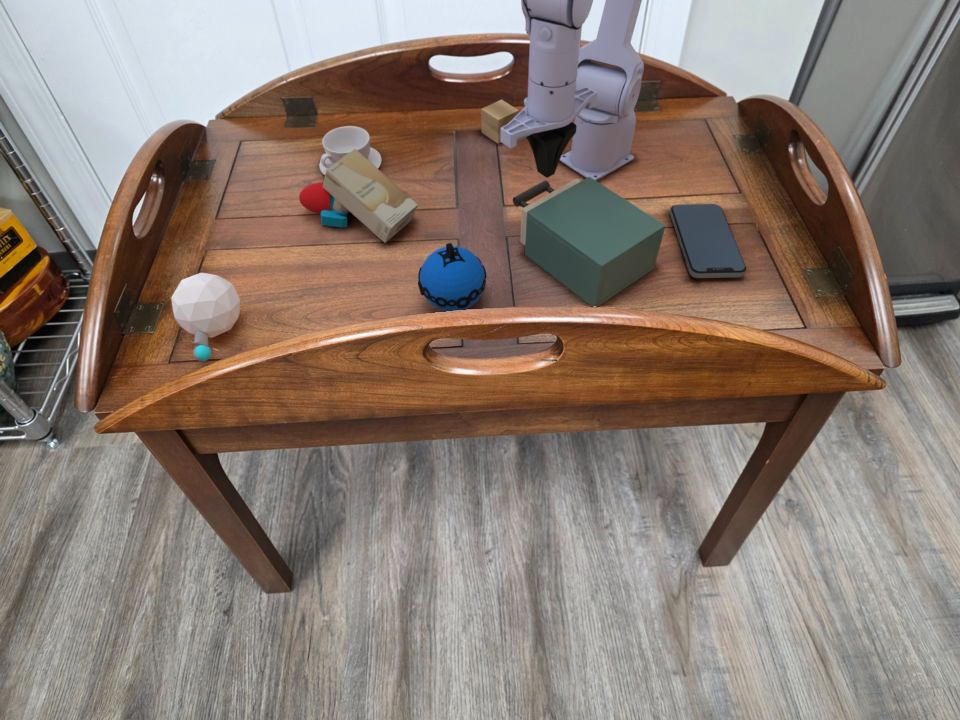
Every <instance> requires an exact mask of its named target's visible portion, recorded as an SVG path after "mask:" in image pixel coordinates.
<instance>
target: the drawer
mask: <svg viewBox="0 0 960 720" xmlns="http://www.w3.org/2000/svg"><path fill="white" fill-rule="evenodd" d="M581 181H582V180H581V179H579V178H578V177H576V178H574V179H573V180H571V181H569V182H567V183H566V184H563V185H562V186H560V187H558V188H557V189H554V188H553V187H552V186H551V184H550V182H549V181H548V180H543V181H540V182H539V183H537V184H535V185H534V186H532V187H530V188H528V189H526V190H525V191H523V192H521V193H518V194H517V195H516V196H513V197H512V203H513V205H514V206H515V207H516V208H517V207H521V215H520V236H519V237H520V242H519V243H521V244H522V245H524V246H525V243H526V221H527V211H529V210H531V209H533V208H534V207H536V206H538V205H540V204H542V203H543V202H545V201H547V200H549V199H550V198H552V197H554V196H556V195H558V194H559V193H561V192H563V191H565V190H567V189H568V188H570V187H572V186H574V185H575V184H577V183H579V182H581ZM545 192H547V194H545V195H544V196H542V197H541V198H538V199H537V200H535V201H534V202H531V203H530V204H529V203H527V202H529V201H531V200H532V199H534V198H536V197H538V196H540V195H542V194H543V193H545Z"/></svg>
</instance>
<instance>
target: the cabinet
mask: <svg viewBox="0 0 960 720" xmlns="http://www.w3.org/2000/svg"><path fill="white" fill-rule="evenodd" d="M665 228H666V225H665V224H664V223H662V222H661V221H659V220H658V219H656V218H654V217H653V216H652V215H650V214H649V213H647V212H646V211H644V210H643V209H641V208H640V207H638V206H636V205H634V203H631V202H630V201H628V200H626V199H625V198H624V197H622V196H620V195H619V194H617V193H616V192H614V191H613V190H611V189H609V188H608V187H607V186H605V185H603V184H602V183H600V182H599V181H598V180H594V179H592V178H591V177H588V178H586V177H585V179H583V180H581V182H579V183H577V184H575V185H574V186H572V187H570V188H568V189H567V190H565V191H563V192H561V193H559V194H558V195H556V196H554V197H552V198H550V199H549V200H547V201H545V202H543V203H542V204H540V205H538V206H536V207H534V208H533V209H531V210H529V211H527V221H526V243H525V245H524V256H526V257H527V258H529V259H530V260H531V261H532V262H534V263H535V264H536V265H538V266H539V267H540V268H541V269H542V270H544V271H545V272H547V274H549V275H550V276H552V277H553V278H554V279H556V280H557V281H558V282H559V283H560V284H562V285H563V286H564V287H566V288H567V289H569V290H570V291H571V292H572V293H573V294H575V295H576V296H577V297H579V298H580V299H581V300H583V301H584V302H585V303H586V304H588V305H589V306H590V307H591V306H598V307H600V306H601V305H603V303H605V302H607V301H609V300H610V299H612V298H613V297H614V296H616V295H617V294H619V293H620V292H622V291H623V290H625V289H627V287H629V286H631V285H632V284H634V283H636V282H637V281H638V280H640V279H641V278H643V277H644V276H646V275H647V274H648V273H650V272H652V271H653V270H654V269H655V266H656V263H657V260H658V256H659V253H660V248H661V245H662V241H663V237H664V232H665Z"/></svg>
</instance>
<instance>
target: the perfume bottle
mask: <svg viewBox="0 0 960 720" xmlns="http://www.w3.org/2000/svg"><path fill="white" fill-rule="evenodd" d="M170 299H171V306H172V307H171V308H172V312H173V313H172V314H173V318H174V320H175V321H176V322H177V324H178V325H179V327H180V328H182V329H183V330H184V331H186V332H187V333H188V334H191V335H194V340H193V341H192V340H188V343H190V344H193V345H194V349H193V350H192V355H193V357H194V358H195V359H196V360H197V361H199V362H207V361H208V360H209V359H210V358H211V356H212V352H214V351H218V352H220V350H219V349H217V348H212V347H210V346H209V338H211V339H212V338H215V337H217V336H219V335H221V334H224V333H226V332H228V331H231V330H232V328H233V327H234V325H235V324H236V322H237V321H238V319H239V317H240V314H241V299H240V297H239V295H238V292H237V289H236V288H235V287H234V284H233V283H232V282H230V281H229V280H227V279H225V278H224V277H222V276H219V275H217V274H212V273H208V272H207V273H206V272H199V273H197V274H196V273H195V274H193V275H191V276H187V277H185V278H184V279H181V280H180V282H179V283H178V285H177V286H176V289H175V290H174V292H173V293H172V296H171V298H170Z"/></svg>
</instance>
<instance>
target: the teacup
mask: <svg viewBox="0 0 960 720" xmlns="http://www.w3.org/2000/svg"><path fill="white" fill-rule="evenodd" d="M321 143H322V147H323V149H324V152H325V153H323V154H322V155H321V157H320V161H319V164H318V165H319V170H320V173H322V174H323V175H324V176H325V174H326V170H327V169H328V168H330V167H331V166H332V165H334V164H335V163H336V162H337V161H339V160H340V159H341V158H343V157H344V156H346V155H347V154H348V153H350V152H351V151H352V150H354V149H356V150H357V151H358V152H360V153H361V154H362V155H363V156H364V157H365V158H366V159H367V160H368V161H370V162H371V163H372V164H373V165H374V166H375V167H376V168H377V169H379V168H380V167H381V164H382V155H381V154H380V152H379V151H378V150H377V149H375V148H374V147H372V146H371V137H370V134H369V132H368V130H366V129H364V128H362V127H360V126H355V125H345V126H339V127H336V128H333V129H331V130H329V131H328V132H327V133H325V135H323V137H322V139H321Z"/></svg>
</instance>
